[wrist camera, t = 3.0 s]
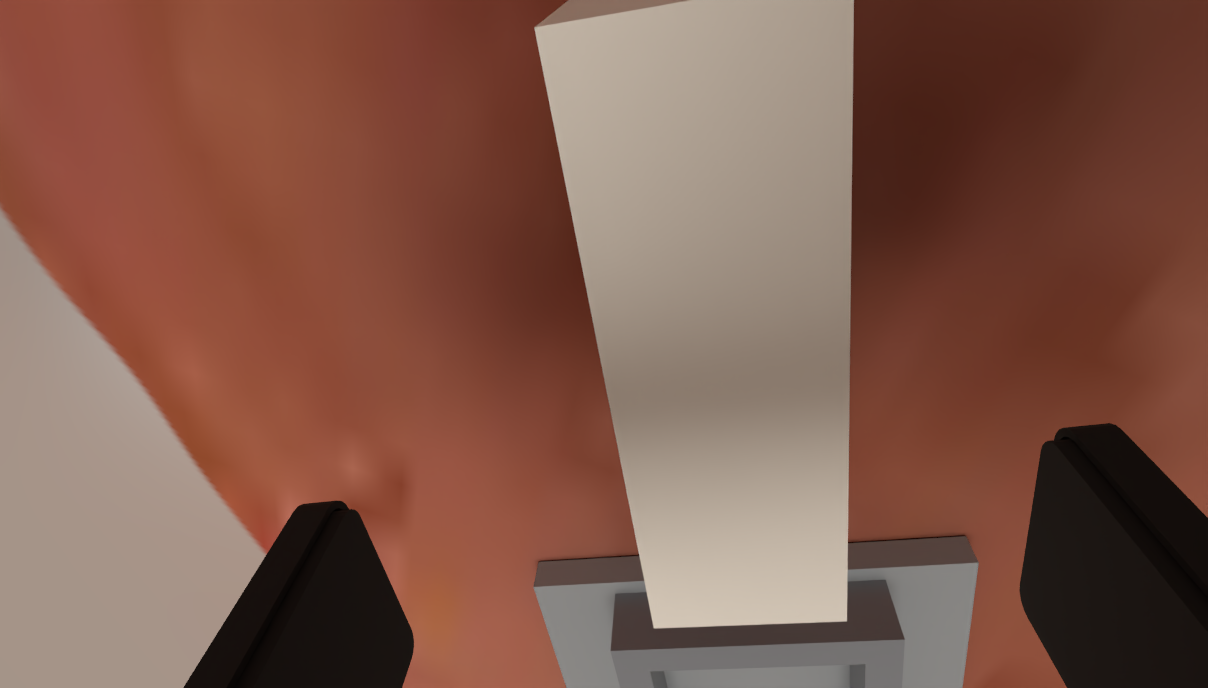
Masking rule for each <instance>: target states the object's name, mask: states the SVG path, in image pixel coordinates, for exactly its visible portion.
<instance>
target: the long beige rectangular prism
mask: <svg viewBox="0 0 1208 688" xmlns="http://www.w3.org/2000/svg"><path fill="white" fill-rule="evenodd" d="M534 28H535V33H536V38H537V43H538V49H539V54H540V59H541V64H542V69H543V74H544V79H545V84H546V89H547V94H548V99H549V104H550V109H551V114H552V119H553V124H554V129H555V134H556V139H557V144H558V149H559V154H560V159H561V164H562V169H563V174H564V179H565V184H566V189H567V194H568V199H569V204H570V209H571V214H572V220H573V225H574V230H575V235H576V240H577V245H578V250H579V255H580V260H581V265H582V270H583V275H584V280H585V285H586V290H587V295H588V300H589V305H590V310H591V315H592V320H593V325H594V330H595V335H596V340H597V345H598V350H599V355H600V360H601V365H602V370H603V375H604V380H605V386H606V391H607V396H608V401H609V406H610V411H611V416H612V421H613V426H614V431H615V436H616V441H617V446H618V451H619V456H620V461H621V466H622V471H623V476H624V481H625V486H626V491H627V496H628V501H629V506H630V511H631V516H632V521H633V526H634V531H635V536H636V541H637V546H638V551H639V557H640V562H641V567H642V572H643V577H644V582H645V587H646V592H647V597H648V602H649V607H650V612H651V617H652V622H653V627H654V628H680V627H707V626H734V625H761V624H788V623H815V622H842V621H847V573H848V483H849V394H850V304H851V215H852V125H853V36H854V0H568V1H567V2H566V3H564V4H563V5H562V6H561V7H559V8H558V9H557V10H556V11H554V12H553V13H552V14H551V15H549V16H548V17H547V18H546V19H544V20H543V21H542V22H541V23H539V24H538V25H537V26H536V27H534Z"/></svg>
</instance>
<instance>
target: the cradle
mask: <svg viewBox="0 0 1208 688" xmlns="http://www.w3.org/2000/svg"><path fill="white" fill-rule="evenodd" d="M977 571H978V560H977V558H976V556H975V554H974V552H973V550H972V548H971V546H970V544H969V542H968V539H967V537H966V536H961V537H944V538H927V539H911V540H894V541H878V542H861V543H848V573H847V621H842V622H815V623H788V624H761V625H734V626H707V627H680V628H654V627H653V622H652V617H651V612H650V607H649V602H648V597H647V592H646V587H645V582H644V577H643V572H642V567H641V562H640V557H639V556H629V557H612V558H596V559H579V560H562V561H546V562H539V563H538V567H537V572H536V577H535V582H534V590H535V593H536V596H537V599H538V602H539V605H540V608H541V611H542V614H543V617H544V621H545V624H546V627H547V630H548V633H549V636H550V639H551V642H552V645H553V648H554V651H555V654H556V657H557V660H558V663H559V666H560V669H561V672H562V675H563V678H564V681H565V684H566V688H962V686H963V678H964V671H965V663H966V655H967V648H968V640H969V632H970V625H971V617H972V609H973V602H974V594H975V586H976V579H977Z"/></svg>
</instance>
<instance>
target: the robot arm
mask: <svg viewBox="0 0 1208 688" xmlns="http://www.w3.org/2000/svg"><path fill="white" fill-rule="evenodd" d="M1020 597H1021V601H1022V605H1023V608H1024V611H1025V613H1026V615H1027V617H1028V619H1029V621H1030V622H1031V624H1032V626H1033V628H1034V630H1035V631H1036V633H1037V635H1038V637H1039V638H1040V640H1041V642H1042V644H1043V646H1044V647H1045V649H1046V651H1047V653H1048V654H1049V656H1050V658H1051V660H1052V662H1053V663H1054V665H1055V667H1056V669H1057V670H1058V672H1059V674H1060V676H1061V677H1062V679H1063V681H1064V683H1065V685H1066V686H1067V688H1208V518H1207V517H1206V516H1205V515H1204V514H1203V513H1202V512H1201V511H1200V510H1199V509H1198V508H1197V506H1196V505H1195V504H1194V503H1193V502H1192V501H1191V500H1190V499H1189V498H1188V497H1187V496H1186V495H1185V494H1184V493H1183V492H1182V491H1181V490H1180V489H1179V488H1178V487H1177V486H1176V485H1175V484H1174V483H1173V482H1172V481H1171V480H1170V479H1169V478H1168V477H1167V476H1166V475H1165V474H1164V473H1163V472H1162V471H1161V470H1160V468H1159V467H1158V466H1157V465H1156V464H1155V463H1154V462H1153V461H1152V460H1151V459H1150V458H1149V457H1148V456H1147V455H1146V454H1145V453H1144V452H1143V451H1142V450H1141V449H1140V448H1139V447H1138V446H1137V445H1136V444H1135V443H1134V442H1133V441H1132V440H1131V439H1130V438H1129V437H1128V436H1127V435H1126V434H1125V433H1124V432H1123V430H1121V429H1120V428H1119V427H1117V426H1116V425H1114V424H1110V423H1108V424H1098V425H1088V426H1078V427H1068V428H1062V429H1059V431H1058V432H1057V433H1056V435H1055V438H1054V441H1047V442H1045V443H1044V444H1043V446H1042V449H1041V454H1040V461H1039V467H1038V473H1037V480H1036V486H1035V492H1034V499H1033V505H1032V511H1031V518H1030V524H1029V530H1028V537H1027V543H1026V549H1025V556H1024V562H1023V569H1022V575H1021V581H1020ZM413 648H414V639H413V633H412V630H411V627H410V625H409V623H408V621H407V619H406V616H405V614H404V612H403V610H402V608H401V605H400V603H399V601H398V599H397V596H396V594H395V592H394V590H393V588H392V585H391V583H390V581H389V579H388V577H387V574H386V572H385V570H384V568H383V566H382V563H381V561H380V559H379V557H378V554H377V552H376V550H375V548H374V546H373V543H372V541H371V539H370V537H369V535H368V532H367V530H366V528H365V526H364V523H363V521H362V519H361V517H360V515H359V513H358V512H357V511H356V510H352V509H351V510H349V508H348V507H347V505H346V504H345V503H343V502H342V501H329V502H319V503H309V504H302V505H300V506H298V507H297V508H296V509H295V511H294V512H293V513H292V515H291V517H290V518H289V520H288V521H287V523H286V525H285V526H284V528H283V529H282V531H281V533H280V534H279V536H278V537H277V539H276V541H275V542H274V544H273V545H272V547H271V549H270V550H269V552H268V553H267V555H266V557H265V558H264V560H263V561H262V563H261V565H260V566H259V568H258V570H257V571H256V573H255V574H254V576H253V577H252V579H251V581H250V582H249V584H248V586H247V587H246V589H245V590H244V592H243V593H242V595H241V597H240V598H239V600H238V601H237V603H236V605H235V606H234V608H233V609H232V611H231V613H230V614H229V616H228V617H227V619H226V621H225V622H224V624H223V625H222V627H221V629H220V630H219V632H218V633H217V635H216V637H215V638H214V640H213V642H212V643H211V645H210V646H209V648H208V649H207V651H206V652H205V654H204V656H203V657H202V659H201V661H200V662H199V664H198V665H197V667H196V669H195V670H194V672H193V673H192V675H191V676H190V678H189V680H188V681H187V683H186V685H185V686H184V688H402V686H403V683H404V680H405V677H406V674H407V671H408V668H409V665H410V662H411V659H412V655H413Z"/></svg>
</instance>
